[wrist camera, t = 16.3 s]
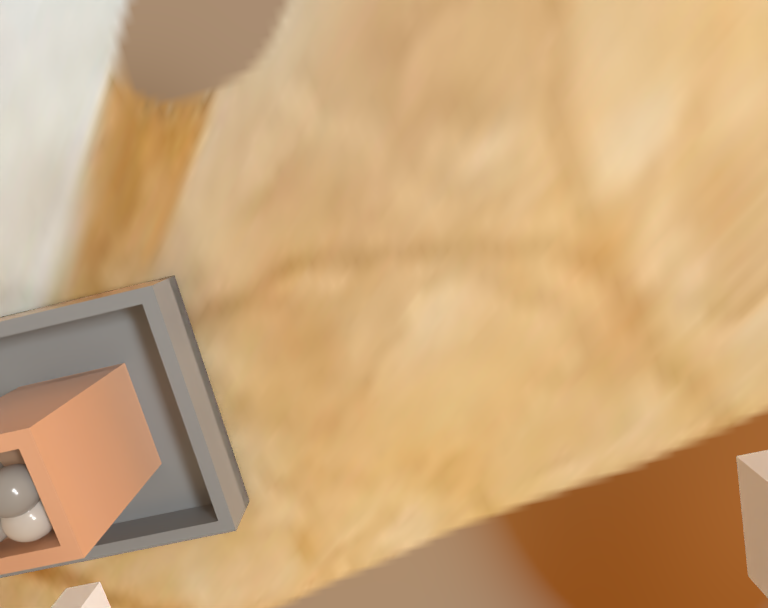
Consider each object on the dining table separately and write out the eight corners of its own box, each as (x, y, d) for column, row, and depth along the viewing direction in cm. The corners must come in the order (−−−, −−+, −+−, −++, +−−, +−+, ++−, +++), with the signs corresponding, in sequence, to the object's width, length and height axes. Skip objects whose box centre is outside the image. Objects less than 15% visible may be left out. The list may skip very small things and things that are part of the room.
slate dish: (-63, 332, 38) (-108, 347, 35) (174, 275, 37) (151, 285, 33) (32, 545, 42) (0, 577, 39) (249, 501, 41) (236, 530, 37)
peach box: (19, 386, 38) (-129, 468, 27) (124, 362, 37) (16, 436, 27) (60, 484, 40) (-64, 598, 29) (161, 463, 39) (73, 571, 28)
